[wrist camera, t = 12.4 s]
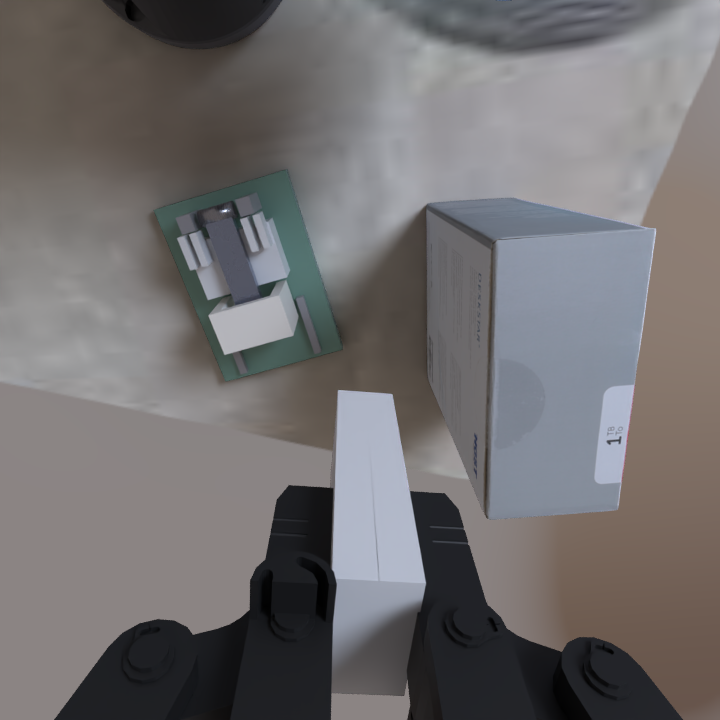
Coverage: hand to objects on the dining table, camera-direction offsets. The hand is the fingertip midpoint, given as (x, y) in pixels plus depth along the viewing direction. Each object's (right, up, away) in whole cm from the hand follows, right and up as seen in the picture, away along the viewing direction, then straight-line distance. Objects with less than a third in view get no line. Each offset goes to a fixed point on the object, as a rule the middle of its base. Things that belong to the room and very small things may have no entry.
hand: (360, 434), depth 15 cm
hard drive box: (+9, +8, +30) cm, 32 cm away
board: (-9, +9, +28) cm, 31 cm away
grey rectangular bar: (-9, +9, +24) cm, 28 cm away
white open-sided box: (-8, +6, +28) cm, 30 cm away
